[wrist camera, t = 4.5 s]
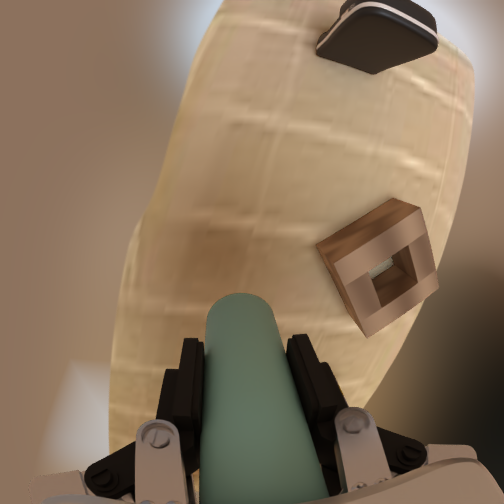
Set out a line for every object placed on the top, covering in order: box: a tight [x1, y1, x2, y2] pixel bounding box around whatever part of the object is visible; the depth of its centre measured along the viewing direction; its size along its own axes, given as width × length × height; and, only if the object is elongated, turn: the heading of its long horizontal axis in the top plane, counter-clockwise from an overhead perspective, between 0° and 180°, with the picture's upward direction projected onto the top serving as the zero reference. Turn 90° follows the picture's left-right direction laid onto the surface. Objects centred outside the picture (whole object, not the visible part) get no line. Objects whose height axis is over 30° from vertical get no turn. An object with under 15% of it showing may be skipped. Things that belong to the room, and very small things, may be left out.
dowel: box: [199, 293, 330, 504], centre depth 8 cm, size 3×3×12 cm
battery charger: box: [316, 0, 439, 74], centre depth 16 cm, size 7×4×11 cm, turn 81°
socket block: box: [316, 198, 439, 338], centre depth 27 cm, size 10×10×5 cm
